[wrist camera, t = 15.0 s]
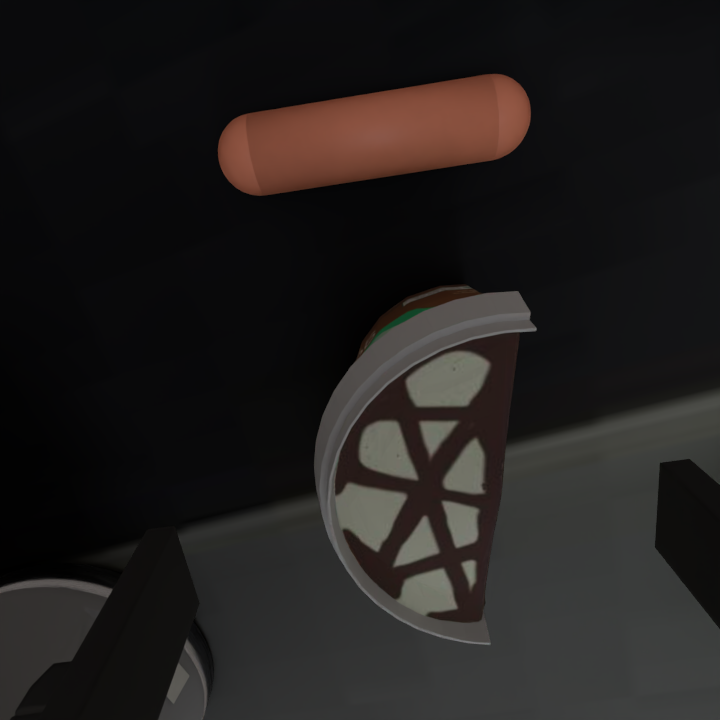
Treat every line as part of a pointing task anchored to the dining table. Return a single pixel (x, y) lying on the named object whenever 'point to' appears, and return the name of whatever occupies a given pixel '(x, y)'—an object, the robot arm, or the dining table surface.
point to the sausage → (375, 135)
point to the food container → (423, 455)
